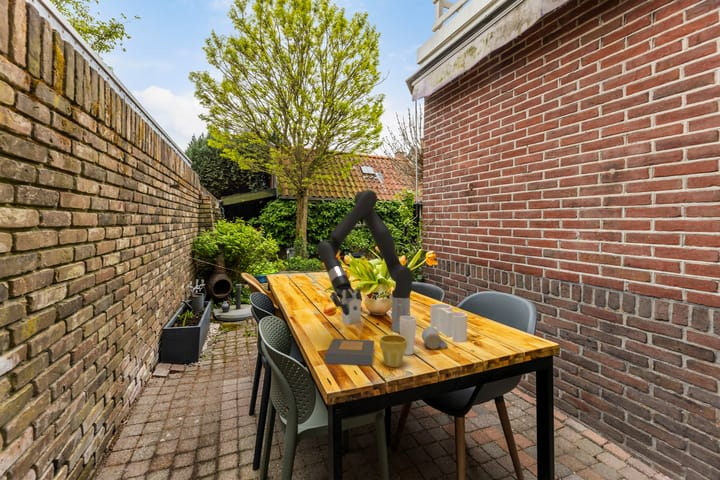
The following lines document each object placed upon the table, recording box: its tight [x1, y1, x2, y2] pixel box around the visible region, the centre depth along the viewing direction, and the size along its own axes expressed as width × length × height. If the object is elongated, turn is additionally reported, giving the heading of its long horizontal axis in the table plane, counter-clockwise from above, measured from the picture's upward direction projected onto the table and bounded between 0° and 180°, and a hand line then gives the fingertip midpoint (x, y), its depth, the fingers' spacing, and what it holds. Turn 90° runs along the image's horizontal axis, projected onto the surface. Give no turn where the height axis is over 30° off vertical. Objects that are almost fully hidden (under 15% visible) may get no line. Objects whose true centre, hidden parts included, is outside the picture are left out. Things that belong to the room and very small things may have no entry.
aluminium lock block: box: [341, 297, 362, 326], centre depth 130 cm, size 6×6×10 cm
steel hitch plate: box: [324, 338, 375, 367], centre depth 130 cm, size 18×16×4 cm
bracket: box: [429, 303, 468, 343], centre depth 159 cm, size 25×10×12 cm, turn 13°
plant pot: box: [379, 334, 407, 368], centre depth 123 cm, size 10×10×10 cm
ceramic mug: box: [421, 326, 448, 350], centre depth 141 cm, size 11×8×8 cm
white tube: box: [399, 315, 417, 356], centre depth 134 cm, size 7×7×15 cm
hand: (353, 312), depth 129 cm, fingers closed on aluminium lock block, 5 cm apart
